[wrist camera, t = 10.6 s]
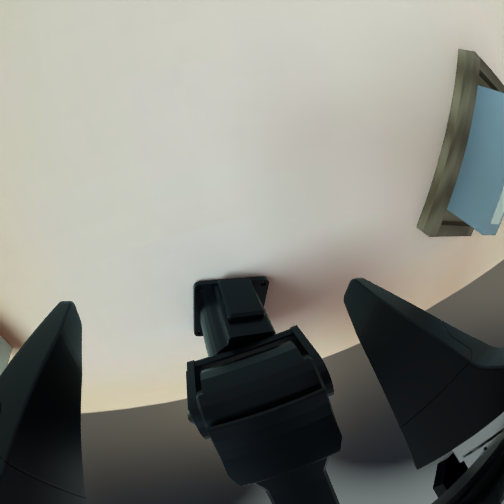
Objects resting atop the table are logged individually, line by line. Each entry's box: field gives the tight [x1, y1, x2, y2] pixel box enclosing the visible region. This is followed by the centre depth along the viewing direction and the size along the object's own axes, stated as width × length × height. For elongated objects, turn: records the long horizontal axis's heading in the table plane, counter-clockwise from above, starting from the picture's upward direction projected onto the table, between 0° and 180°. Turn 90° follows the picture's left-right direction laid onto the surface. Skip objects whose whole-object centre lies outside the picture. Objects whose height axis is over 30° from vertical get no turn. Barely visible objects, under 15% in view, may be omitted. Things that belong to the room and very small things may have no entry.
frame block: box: [447, 85, 504, 235], centre depth 20 cm, size 5×16×6 cm, turn 172°
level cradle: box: [417, 49, 504, 237], centre depth 23 cm, size 22×12×2 cm, turn 172°
